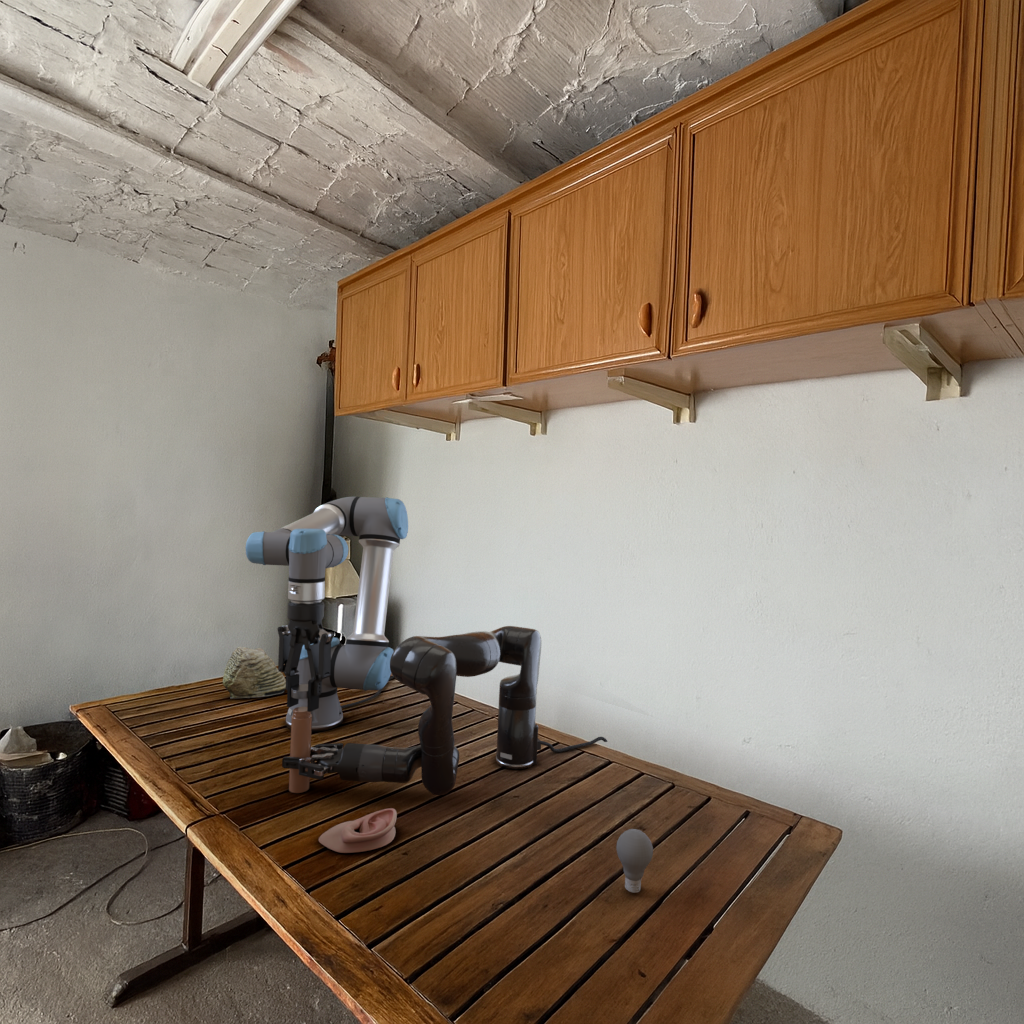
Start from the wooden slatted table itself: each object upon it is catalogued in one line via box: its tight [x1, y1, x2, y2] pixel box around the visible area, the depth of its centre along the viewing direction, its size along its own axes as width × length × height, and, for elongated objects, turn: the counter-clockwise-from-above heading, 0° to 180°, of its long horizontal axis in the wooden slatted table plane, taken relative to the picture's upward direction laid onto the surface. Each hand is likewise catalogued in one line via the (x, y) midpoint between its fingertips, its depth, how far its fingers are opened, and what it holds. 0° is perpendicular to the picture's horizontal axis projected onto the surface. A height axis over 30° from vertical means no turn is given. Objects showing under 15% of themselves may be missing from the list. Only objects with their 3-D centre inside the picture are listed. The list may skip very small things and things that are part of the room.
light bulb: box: [615, 828, 654, 894], centre depth 106 cm, size 6×6×10 cm
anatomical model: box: [318, 807, 398, 854], centre depth 118 cm, size 13×4×12 cm
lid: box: [291, 684, 308, 699], centre depth 137 cm, size 5×5×2 cm
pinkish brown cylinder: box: [288, 707, 312, 794], centre depth 137 cm, size 4×4×17 cm
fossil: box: [222, 646, 287, 699], centre depth 198 cm, size 9×18×15 cm, turn 132°
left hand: (302, 707), depth 137 cm, fingers closed on lid, 5 cm apart
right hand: (287, 757), depth 137 cm, fingers closed on pinkish brown cylinder, 4 cm apart
